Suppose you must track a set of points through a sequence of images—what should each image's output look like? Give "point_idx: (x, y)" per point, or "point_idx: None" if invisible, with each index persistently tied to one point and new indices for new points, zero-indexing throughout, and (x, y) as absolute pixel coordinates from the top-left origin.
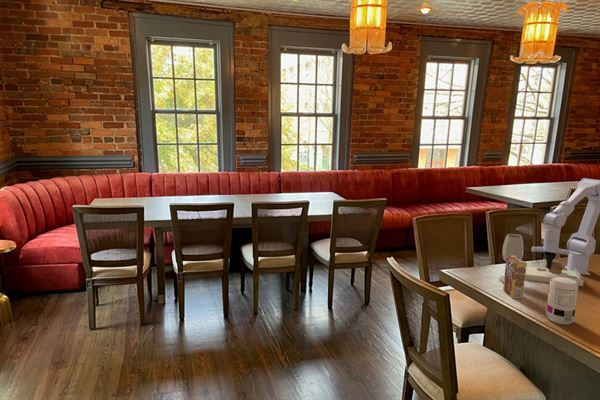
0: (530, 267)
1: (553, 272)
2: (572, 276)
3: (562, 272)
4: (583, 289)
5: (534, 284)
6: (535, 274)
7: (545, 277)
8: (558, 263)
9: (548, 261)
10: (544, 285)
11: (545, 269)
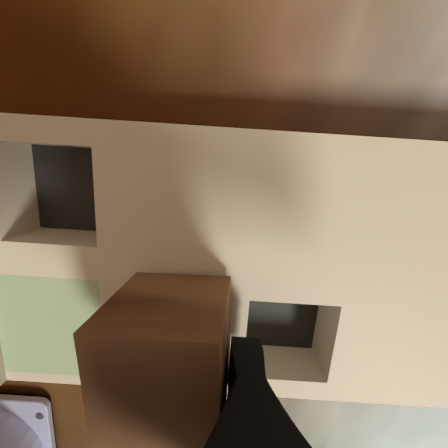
0: (378, 382)
1: (208, 276)
2: (42, 241)
3: None
4: (13, 21)
5: (443, 31)
6: (421, 178)
7: (327, 136)
8: (121, 401)
9: (275, 412)
10: (352, 30)
11: None
